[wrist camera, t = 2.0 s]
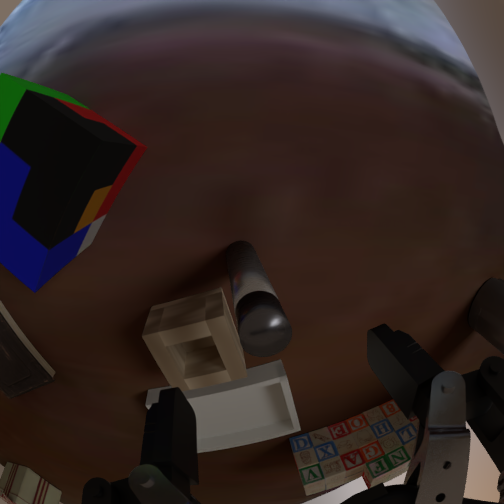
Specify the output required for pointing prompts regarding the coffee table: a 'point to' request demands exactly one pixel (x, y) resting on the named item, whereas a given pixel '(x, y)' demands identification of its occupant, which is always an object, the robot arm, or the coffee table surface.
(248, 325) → the cylinder
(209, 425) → the tray
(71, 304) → the coffee table surface
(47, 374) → the hardcover book
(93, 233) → the puzzle toy
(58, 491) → the gift box
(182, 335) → the maple bore block
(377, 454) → the stack of blocks
